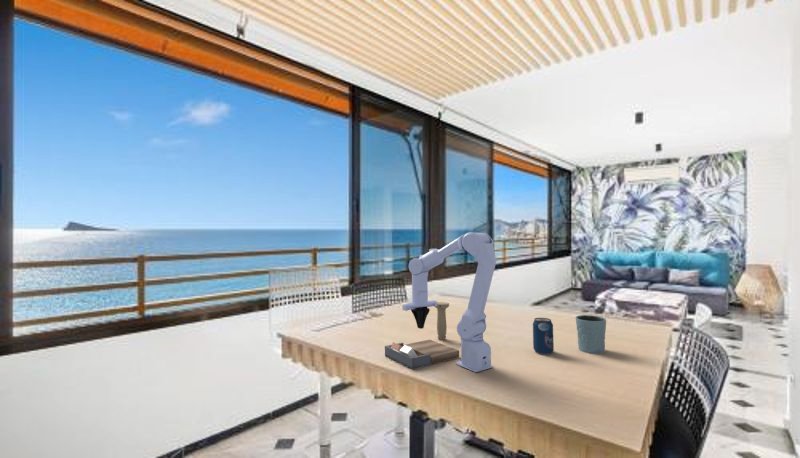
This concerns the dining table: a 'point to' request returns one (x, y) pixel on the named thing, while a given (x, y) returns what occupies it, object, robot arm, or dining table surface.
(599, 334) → the blue-grey cup
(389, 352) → the box
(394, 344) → the tile terracotta
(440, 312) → the handle
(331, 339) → the dining table surface
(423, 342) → the wooden board
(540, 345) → the soda can
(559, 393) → the dining table surface
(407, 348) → the tile cream
